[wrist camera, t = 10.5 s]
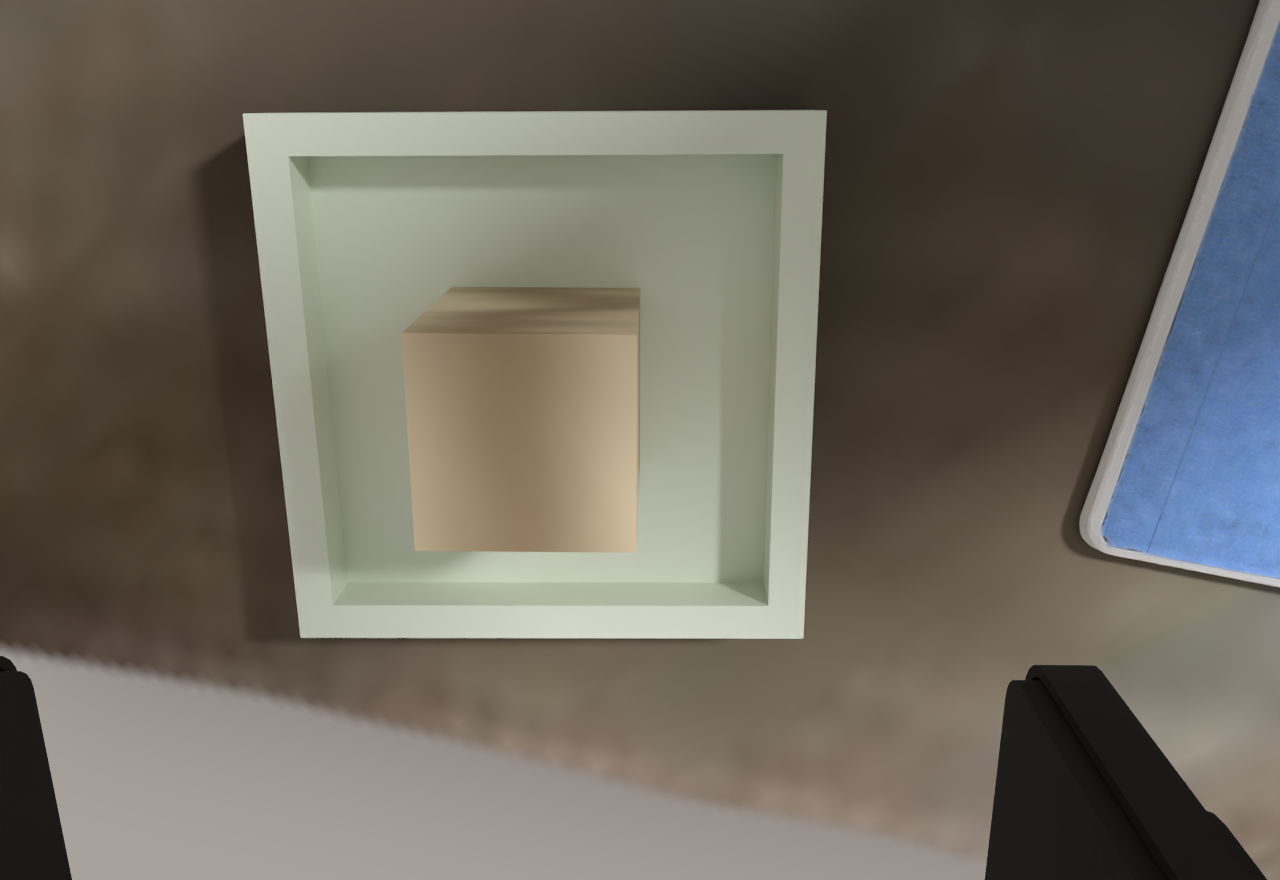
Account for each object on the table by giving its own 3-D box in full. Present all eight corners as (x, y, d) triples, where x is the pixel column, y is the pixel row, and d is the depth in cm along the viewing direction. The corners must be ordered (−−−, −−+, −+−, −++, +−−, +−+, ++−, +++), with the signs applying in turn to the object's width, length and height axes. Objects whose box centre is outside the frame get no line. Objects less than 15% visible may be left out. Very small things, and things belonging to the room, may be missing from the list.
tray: (812, 109, 28) (826, 110, 26) (792, 598, 32) (803, 638, 30) (277, 112, 28) (242, 113, 26) (326, 598, 33) (300, 638, 30)
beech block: (640, 288, 29) (636, 334, 23) (639, 466, 30) (636, 553, 24) (451, 286, 29) (400, 332, 23) (460, 465, 30) (415, 550, 24)
